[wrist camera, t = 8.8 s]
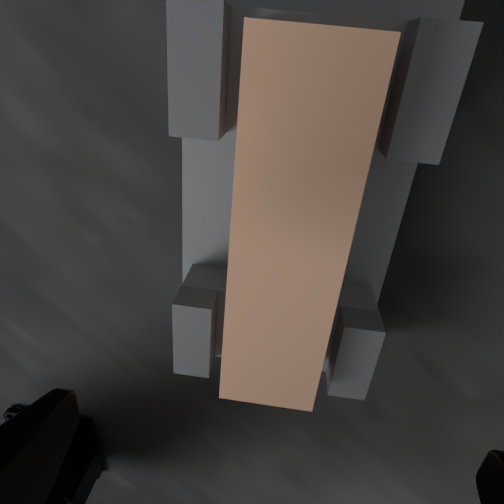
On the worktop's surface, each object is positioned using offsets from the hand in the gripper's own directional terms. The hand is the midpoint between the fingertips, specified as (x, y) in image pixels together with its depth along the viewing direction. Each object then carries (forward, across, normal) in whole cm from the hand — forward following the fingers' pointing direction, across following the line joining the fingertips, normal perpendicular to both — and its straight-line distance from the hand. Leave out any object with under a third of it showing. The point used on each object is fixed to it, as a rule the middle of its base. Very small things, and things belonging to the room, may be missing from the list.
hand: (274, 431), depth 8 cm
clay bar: (+9, 0, -1) cm, 9 cm away
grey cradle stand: (+12, 0, -1) cm, 12 cm away
